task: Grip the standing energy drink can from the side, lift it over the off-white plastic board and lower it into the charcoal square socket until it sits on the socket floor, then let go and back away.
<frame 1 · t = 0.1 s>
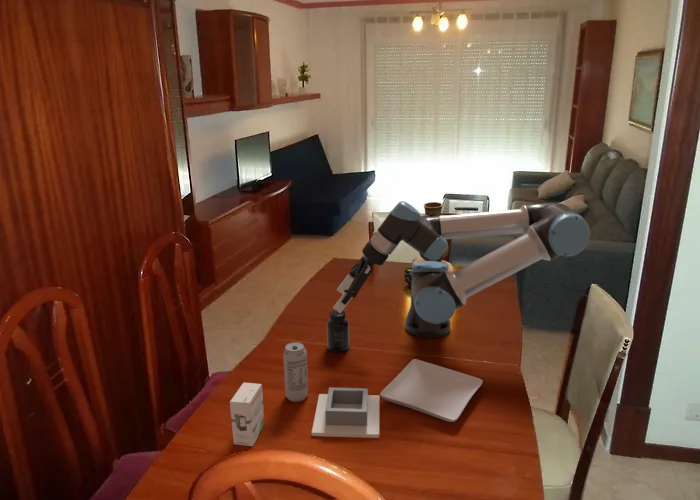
hand: (338, 301, 164), 15 cm above the table, tool tilted 35°, fingers open, 13 cm apart
socket board: (347, 416, 134), on the table
vase: (430, 287, 214), on the table
salad plate: (432, 397, 142), on the table
ink box: (249, 435, 128), on the table
energy drink can: (297, 397, 142), on the table
supplement bottle: (338, 348, 168), on the table
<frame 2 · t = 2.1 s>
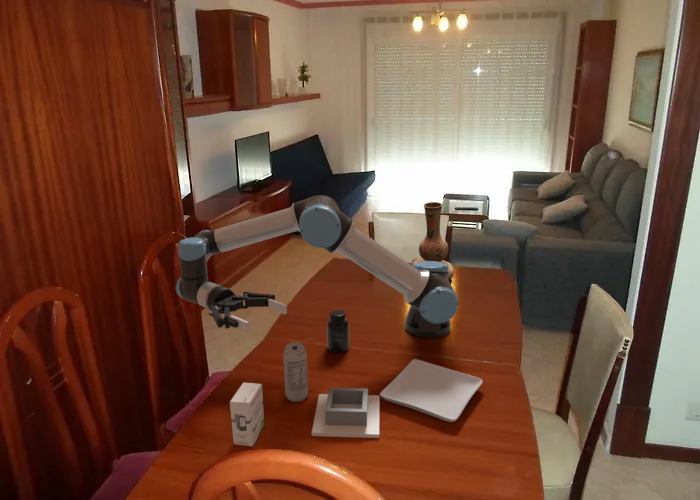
hand: (267, 318, 142), 20 cm above the table, tool horizontal, fingers open, 13 cm apart
nothing on the table moved.
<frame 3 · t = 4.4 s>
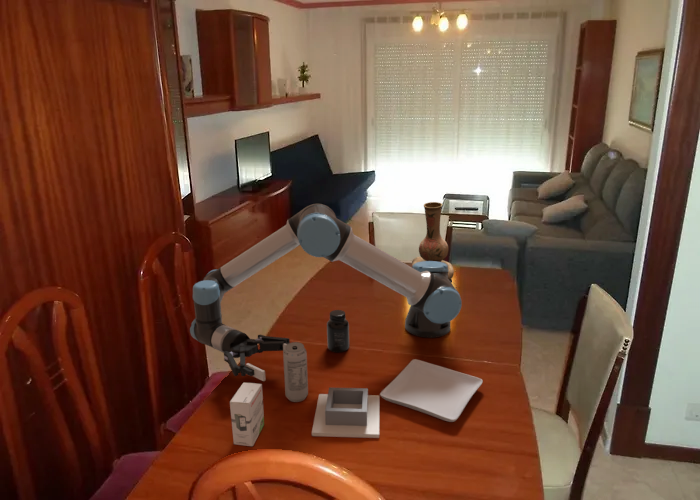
hand: (283, 365, 142), 8 cm above the table, tool horizontal, fingers open, 13 cm apart
nothing on the table moved.
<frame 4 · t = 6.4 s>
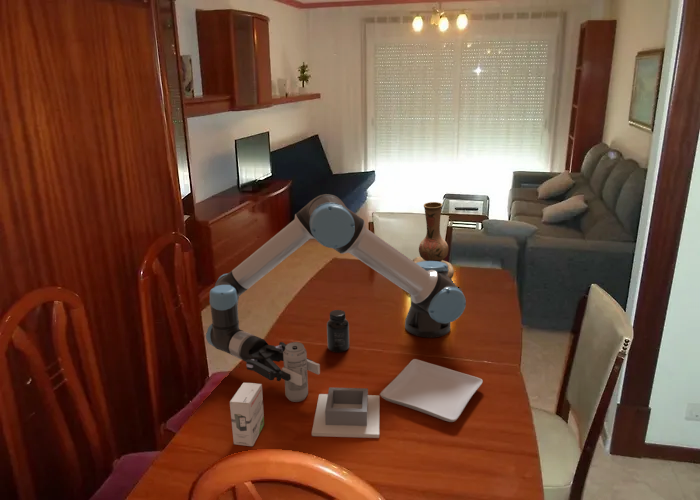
hand: (310, 375, 137), 9 cm above the table, tool horizontal, fingers closed on energy drink can, 6 cm apart
energy drink can: (296, 397, 142), on the table, touching gripper
everything else where it was.
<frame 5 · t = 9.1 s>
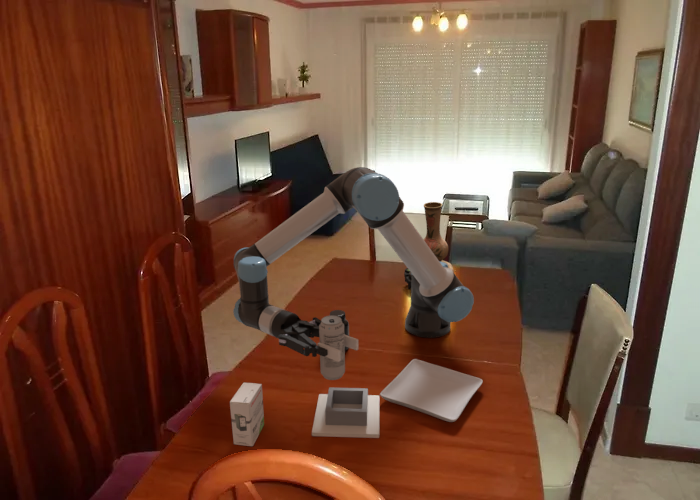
hand: (348, 350, 126), 20 cm above the table, tool horizontal, fingers closed on energy drink can, 6 cm apart
energy drink can: (332, 375, 132), point 11 cm above the table, touching gripper
everything else where it was.
when the fingers open (10 cm above the table, at t = 12.0 s): energy drink can stays where it is, resting on socket board.
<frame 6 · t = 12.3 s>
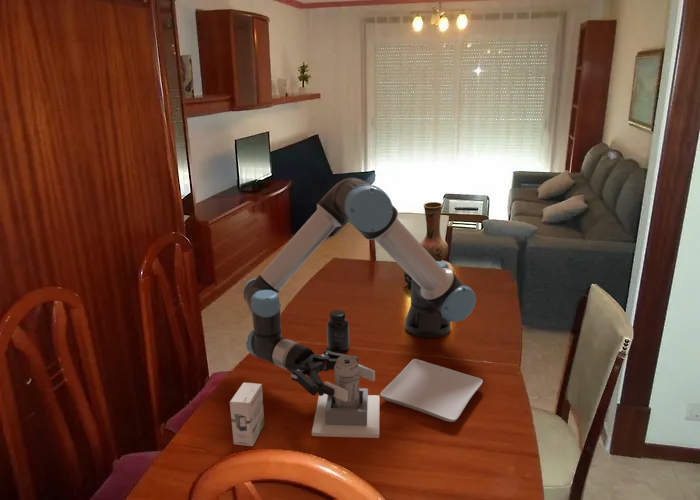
hand: (360, 385, 128), 10 cm above the table, tool horizontal, fingers open, 10 cm apart
energy drink can: (347, 413, 134), point 1 cm above the table, touching socket board
everything else where it was.
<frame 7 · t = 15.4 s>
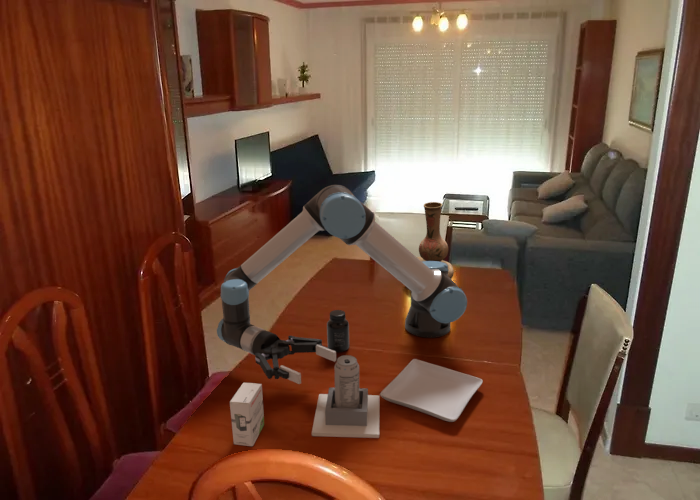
hand: (318, 367, 136), 11 cm above the table, tool horizontal, fingers open, 13 cm apart
nothing on the table moved.
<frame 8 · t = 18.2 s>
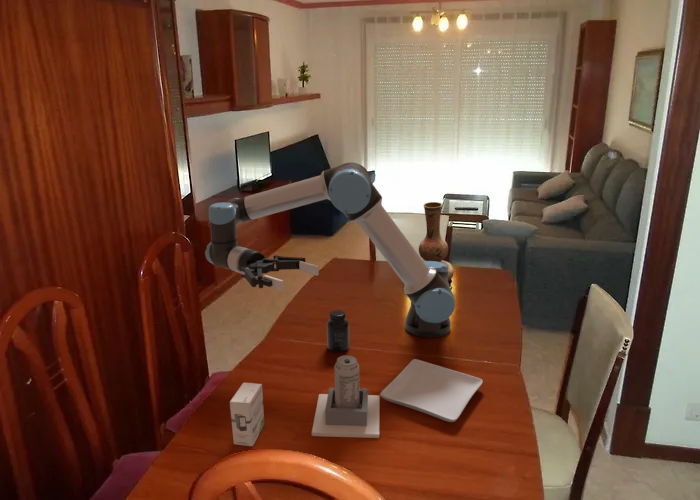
hand: (300, 278, 142), 30 cm above the table, tool horizontal, fingers open, 13 cm apart
nothing on the table moved.
at the end: energy drink can 0.0 cm off-centre on the socket board, point 0.8 cm above the socket board's base; energy drink can tilted 0°; the gripper is holding nothing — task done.
